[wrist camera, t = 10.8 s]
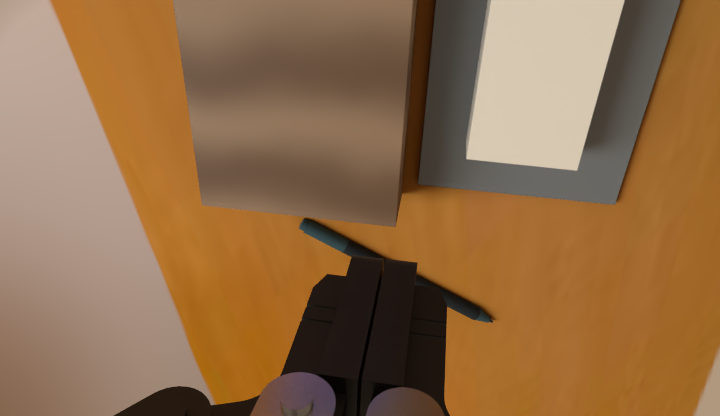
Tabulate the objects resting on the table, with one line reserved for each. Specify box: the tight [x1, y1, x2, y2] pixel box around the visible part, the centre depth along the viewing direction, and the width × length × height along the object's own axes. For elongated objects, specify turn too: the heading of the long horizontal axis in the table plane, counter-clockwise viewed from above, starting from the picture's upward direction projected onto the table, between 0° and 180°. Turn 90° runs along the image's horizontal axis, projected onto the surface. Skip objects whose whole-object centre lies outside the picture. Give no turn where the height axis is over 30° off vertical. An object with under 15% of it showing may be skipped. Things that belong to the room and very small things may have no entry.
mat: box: [418, 0, 680, 205], centre depth 29 cm, size 16×12×1 cm
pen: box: [299, 218, 493, 323], centre depth 38 cm, size 1×16×1 cm, turn 63°
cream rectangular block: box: [466, 0, 625, 171], centre depth 28 cm, size 9×6×2 cm, turn 177°
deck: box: [173, 0, 417, 227], centre depth 29 cm, size 18×12×4 cm, turn 178°
